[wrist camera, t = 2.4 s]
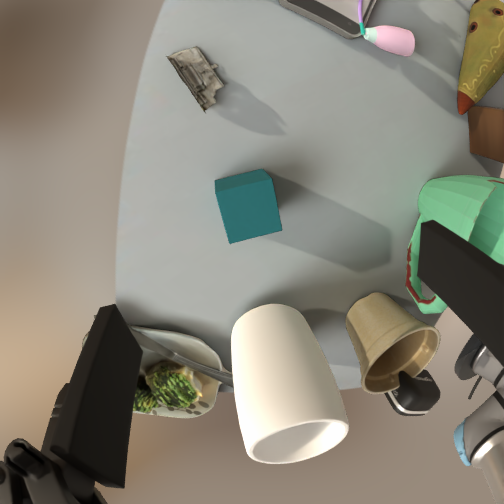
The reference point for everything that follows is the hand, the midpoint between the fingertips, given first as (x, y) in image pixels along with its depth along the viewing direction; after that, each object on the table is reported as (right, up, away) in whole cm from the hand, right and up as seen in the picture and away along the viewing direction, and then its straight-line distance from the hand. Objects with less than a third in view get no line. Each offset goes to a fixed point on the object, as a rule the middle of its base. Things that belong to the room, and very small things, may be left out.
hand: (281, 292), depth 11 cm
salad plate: (-14, -12, +20) cm, 27 cm away
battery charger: (+17, -11, +24) cm, 32 cm away
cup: (0, -6, +19) cm, 20 cm away
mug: (+17, +5, +16) cm, 24 cm away
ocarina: (+23, +25, +7) cm, 35 cm away
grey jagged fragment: (-6, +14, +7) cm, 17 cm away
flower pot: (+12, -5, +21) cm, 25 cm away
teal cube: (-2, +6, +13) cm, 14 cm away
